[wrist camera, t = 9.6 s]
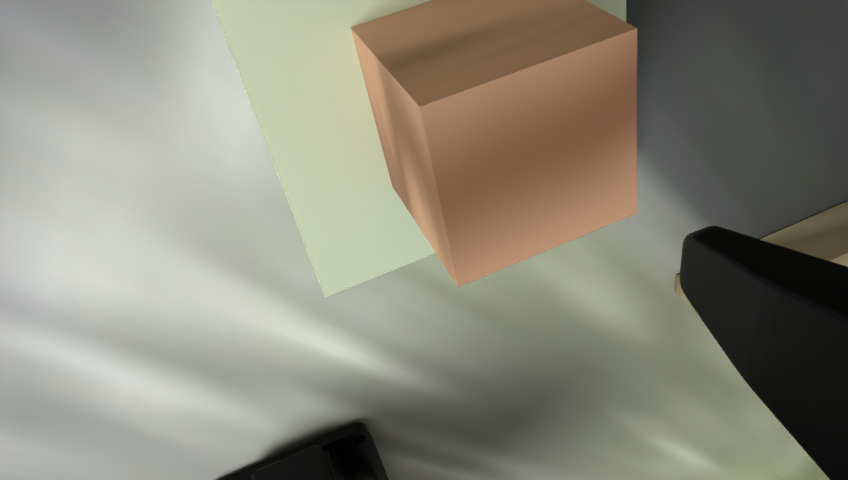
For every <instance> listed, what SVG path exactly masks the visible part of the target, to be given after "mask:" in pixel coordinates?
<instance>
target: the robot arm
mask: <svg viewBox="0 0 848 480" xmlns="http://www.w3.org/2000/svg"><path fill="white" fill-rule="evenodd" d="M680 285H681V288H682V291H683V293H684V294H685V296H686V298H687V299H688V300H689V302H690V303H691V305H692V306H693V308H694V309H695V311H696V312H697V313H698V315H699V316H700V318H701V319H702V321H703V322H704V324H705V325H706V326H707V328H708V329H709V331H710V332H711V334H712V335H713V336H714V338H715V339H716V341H717V342H718V344H719V345H720V347H721V348H722V349H723V351H724V352H725V354H726V355H727V357H728V358H729V359H730V361H731V362H732V364H733V365H734V367H735V368H736V369H737V371H738V372H739V373H740V375H741V376H742V377H743V379H744V380H745V381H746V382H747V384H748V385H749V386H750V387H751V389H752V390H753V391H754V392H755V393H756V395H757V396H758V397H759V398H760V399H761V400H762V401H763V403H764V404H765V405H766V406H767V407H768V408H769V410H770V411H771V412H772V413H773V414H774V415H775V417H776V418H777V419H778V420H779V421H780V422H781V423H782V425H783V426H784V427H785V428H786V429H787V430H788V432H789V433H790V434H791V435H792V436H793V437H794V438H795V440H796V441H797V442H798V443H799V444H800V445H801V447H802V448H803V449H804V450H805V451H806V452H807V454H808V455H809V456H810V457H811V458H812V459H813V460H814V462H815V463H816V464H817V465H818V466H819V467H820V469H821V470H822V471H823V472H824V473H825V474H826V476H827V477H828V478H829V479H830V480H848V267H847V266H844V265H841V264H838V263H834V262H831V261H828V260H825V259H821V258H818V257H815V256H812V255H809V254H805V253H802V252H799V251H796V250H792V249H789V248H786V247H783V246H779V245H776V244H773V243H770V242H767V241H763V240H760V239H757V238H754V237H750V236H747V235H744V234H741V233H737V232H734V231H731V230H728V229H725V228H721V227H717V226H709V227H706V228H703V229H701V230H698V231H695V232H693V233H690V234H689V235H687V236H686V238H685V239H684V241H683V248H682V258H681V267H680ZM226 480H389V479H388V477H387V474H386V472H385V469H384V467H383V464H382V462H381V459H380V457H379V454H378V452H377V449H376V446H375V444H374V441H373V439H372V436H371V434H370V431H369V429H368V426H367V425H366V424H364V423H356V424H352V425H350V426H348V427H345V428H343V429H341V430H339V431H336V432H334V433H332V434H329V435H327V436H325V437H322V438H320V439H318V440H316V441H313V442H311V443H309V444H306V445H304V446H302V447H299V448H297V449H295V450H293V451H290V452H288V453H286V454H283V455H281V456H279V457H277V458H274V459H272V460H270V461H267V462H265V463H263V464H260V465H258V466H256V467H254V468H251V469H249V470H247V471H244V472H242V473H240V474H237V475H235V476H233V477H231V478H228V479H226Z"/></svg>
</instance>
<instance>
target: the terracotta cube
mask: <svg viewBox="0 0 848 480" xmlns="http://www.w3.org/2000/svg"><path fill="white" fill-rule="evenodd" d="M350 28H351V32H352V36H353V40H354V43H355V47H356V51H357V55H358V58H359V62H360V66H361V70H362V74H363V77H364V81H365V85H366V89H367V93H368V96H369V100H370V104H371V108H372V111H373V115H374V119H375V123H376V127H377V130H378V134H379V138H380V142H381V145H382V149H383V153H384V157H385V161H386V164H387V168H388V172H389V176H390V180H391V183H392V187H393V188H394V190H395V191H396V193H397V194H398V196H399V197H400V199H401V200H402V202H403V203H404V205H405V207H406V208H407V210H408V211H409V213H410V214H411V216H412V217H413V219H414V220H415V222H416V223H417V225H418V226H419V228H420V229H421V231H422V232H423V234H424V235H425V237H426V238H427V240H428V241H429V243H430V244H431V246H432V247H433V249H434V250H435V252H436V253H437V255H438V257H439V258H440V260H441V261H442V263H443V264H444V266H445V267H446V269H447V270H448V272H449V273H450V275H451V276H452V278H453V279H454V281H455V282H456V284H457V285H458V287H459V286H461V285H464V284H466V283H469V282H471V281H473V280H476V279H478V278H481V277H483V276H486V275H488V274H490V273H493V272H495V271H498V270H500V269H503V268H505V267H507V266H510V265H512V264H515V263H517V262H520V261H522V260H524V259H527V258H529V257H532V256H534V255H537V254H539V253H541V252H544V251H546V250H549V249H551V248H554V247H556V246H558V245H561V244H563V243H566V242H568V241H571V240H573V239H575V238H578V237H580V236H583V235H585V234H588V233H590V232H592V231H595V230H597V229H600V228H602V227H605V226H607V225H609V224H612V223H614V222H617V221H619V220H622V219H624V218H626V217H629V216H631V215H634V214H636V213H637V28H636V27H634V26H632V25H630V24H628V23H627V22H625V21H623V20H621V19H619V18H617V17H616V16H614V15H612V14H610V13H608V12H606V11H605V10H603V9H601V8H599V7H597V6H595V5H594V4H592V3H590V2H588V1H586V0H431V1H428V2H425V3H422V4H419V5H416V6H413V7H410V8H407V9H404V10H401V11H398V12H395V13H392V14H389V15H386V16H383V17H380V18H377V19H374V20H371V21H368V22H365V23H362V24H359V25H356V26H353V27H350Z"/></svg>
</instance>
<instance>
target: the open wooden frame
mask: <svg viewBox="0 0 848 480" xmlns="http://www.w3.org/2000/svg"><path fill="white" fill-rule="evenodd" d="M760 240H763V241H767V242H770V243H773V244H776V245H779V246H783V247H786V248H789V249H792V250H796V251H799V252H802V253H805V254H809V255H812V256H815V257H818V258H821V259H825V260H828V261H831V262H834V263H838V264H841V265H844V266H847V267H848V201H847V202H844V203H842V204H840V205H837V206H835V207H833V208H830V209H828V210H826V211H824V212H821V213H819V214H817V215H814V216H812V217H810V218H807V219H805V220H803V221H800V222H798V223H796V224H794V225H791V226H789V227H787V228H784V229H782V230H780V231H777V232H775V233H773V234H770V235H768V236H766V237H763V238H761V239H760ZM675 292H676V293H677V294H678V295H679V296H680V297H681V298H682V299H683V300H684V301H685V302H686V303H687V304H688V305H689V306H690V307H691V308H692V309H693V310H694V311H695V309H694V308H693V306H692V305H691V303H690V302H689V300H688V299H687V298H686V296H685V294H684V293H683V291H682V288H681V285H680V274H678V275H676V289H675ZM695 312H696V311H695Z"/></svg>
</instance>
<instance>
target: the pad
mask: <svg viewBox="0 0 848 480" xmlns="http://www.w3.org/2000/svg"><path fill="white" fill-rule="evenodd" d="M428 1H431V0H211V3H212V5H213V8H214V11H215V13H216V16H217V18H218V21H219V24H220V26H221V29H222V31H223V34H224V37H225V39H226V42H227V44H228V47H229V50H230V52H231V55H232V57H233V60H234V63H235V65H236V68H237V70H238V73H239V76H240V78H241V81H242V83H243V86H244V89H245V91H246V94H247V96H248V99H249V102H250V104H251V107H252V109H253V112H254V115H255V117H256V120H257V122H258V125H259V128H260V130H261V133H262V135H263V138H264V141H265V143H266V146H267V148H268V151H269V154H270V156H271V159H272V161H273V164H274V167H275V169H276V172H277V174H278V177H279V180H280V182H281V185H282V187H283V190H284V193H285V195H286V198H287V200H288V203H289V206H290V208H291V211H292V213H293V216H294V219H295V221H296V224H297V226H298V229H299V232H300V234H301V237H302V239H303V242H304V245H305V247H306V250H307V252H308V255H309V258H310V260H311V263H312V265H313V268H314V271H315V273H316V276H317V278H318V281H319V283H320V286H321V288H322V291H323V293H324V295H325V297H327V296H330V295H332V294H335V293H337V292H340V291H342V290H345V289H347V288H350V287H352V286H355V285H357V284H360V283H362V282H365V281H367V280H370V279H372V278H375V277H377V276H380V275H382V274H385V273H387V272H390V271H392V270H395V269H397V268H400V267H402V266H405V265H407V264H410V263H412V262H415V261H417V260H420V259H422V258H425V257H427V256H430V255H432V254H435V253H436V252H435V250H434V249H433V247H432V246H431V244H430V243H429V241H428V240H427V238H426V237H425V235H424V234H423V232H422V231H421V229H420V228H419V226H418V225H417V223H416V222H415V220H414V219H413V217H412V216H411V214H410V213H409V211H408V210H407V208H406V207H405V205H404V203H403V202H402V200H401V199H400V197H399V196H398V194H397V193H396V191H395V190H394V188H393V187H392V183H391V180H390V176H389V172H388V168H387V164H386V161H385V157H384V153H383V149H382V145H381V142H380V138H379V134H378V130H377V127H376V123H375V119H374V115H373V111H372V108H371V104H370V100H369V96H368V93H367V89H366V85H365V81H364V77H363V74H362V70H361V66H360V62H359V58H358V55H357V51H356V47H355V43H354V40H353V36H352V32H351V28H350V27H353V26H356V25H359V24H362V23H365V22H368V21H371V20H374V19H377V18H380V17H383V16H386V15H389V14H392V13H395V12H398V11H401V10H404V9H407V8H410V7H413V6H416V5H419V4H422V3H425V2H428ZM586 1H588V2H590V3H592V4H594V5H595V6H597V7H599V8H601V9H603V10H605V11H606V12H608V13H610V14H612V15H614V16H616V17H617V18H619V19H621V20H623V21H625V22H626V0H586Z"/></svg>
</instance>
